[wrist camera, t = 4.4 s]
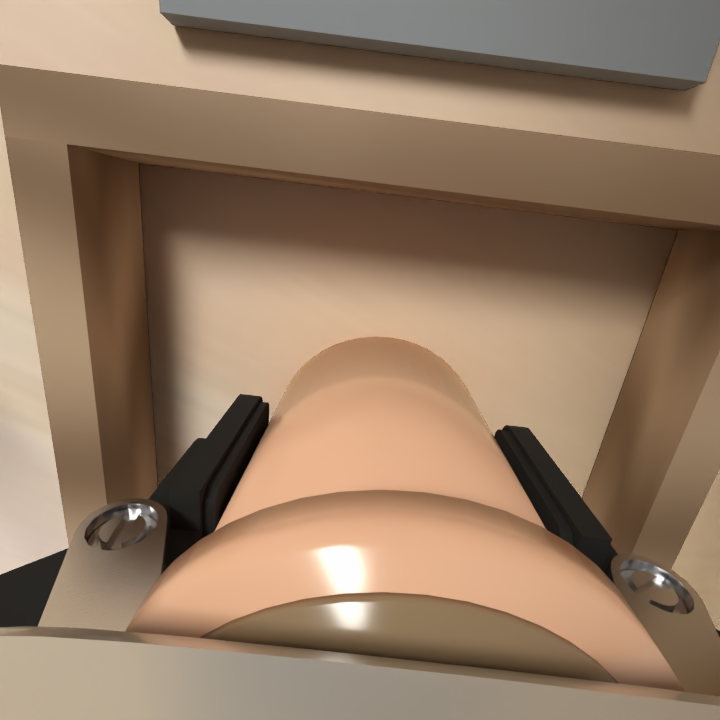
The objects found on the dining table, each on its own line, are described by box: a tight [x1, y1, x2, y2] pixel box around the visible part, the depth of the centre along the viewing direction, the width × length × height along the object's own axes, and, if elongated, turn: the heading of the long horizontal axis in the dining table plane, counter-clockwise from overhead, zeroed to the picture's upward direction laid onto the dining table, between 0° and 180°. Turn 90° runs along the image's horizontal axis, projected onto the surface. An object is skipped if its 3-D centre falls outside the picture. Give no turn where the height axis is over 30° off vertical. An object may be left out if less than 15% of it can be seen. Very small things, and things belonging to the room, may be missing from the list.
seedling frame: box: [0, 64, 720, 569], centre depth 11 cm, size 16×16×2 cm
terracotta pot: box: [125, 337, 684, 692], centre depth 8 cm, size 7×7×8 cm
